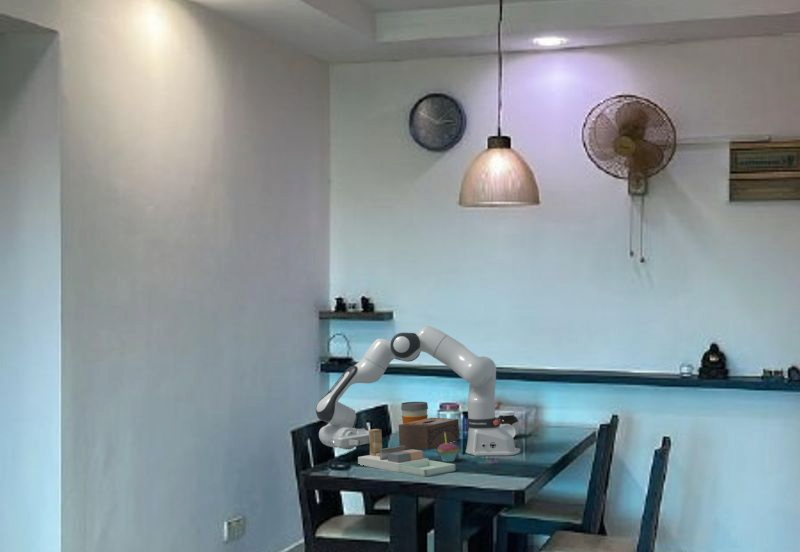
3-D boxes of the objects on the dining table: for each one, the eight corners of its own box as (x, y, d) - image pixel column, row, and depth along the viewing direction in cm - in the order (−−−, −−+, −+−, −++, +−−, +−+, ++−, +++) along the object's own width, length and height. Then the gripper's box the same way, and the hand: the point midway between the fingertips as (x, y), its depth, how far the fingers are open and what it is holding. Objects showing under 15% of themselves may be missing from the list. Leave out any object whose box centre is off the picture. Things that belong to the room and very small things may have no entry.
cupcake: (452, 463, 408) (451, 432, 408) (433, 461, 413) (432, 431, 413) (462, 459, 415) (461, 429, 416) (444, 458, 420) (443, 428, 420)
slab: (358, 464, 412) (358, 457, 412) (387, 459, 421) (387, 452, 422) (399, 472, 393) (398, 463, 393) (429, 466, 402) (428, 458, 402)
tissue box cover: (427, 450, 444) (426, 426, 444) (399, 448, 452) (398, 424, 453) (459, 441, 465) (458, 418, 465) (432, 439, 474) (431, 417, 474)
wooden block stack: (361, 456, 413) (360, 431, 413) (385, 452, 420) (384, 427, 420) (381, 460, 403) (380, 434, 403) (405, 455, 411) (404, 430, 411)
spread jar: (511, 435, 476) (510, 410, 476) (526, 438, 467) (525, 412, 467) (489, 438, 470) (489, 412, 470) (505, 441, 460) (504, 414, 460)
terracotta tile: (400, 458, 404) (400, 451, 404) (412, 456, 408) (412, 449, 408) (411, 460, 399) (410, 452, 399) (422, 458, 403) (422, 450, 403)
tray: (399, 472, 393) (398, 465, 393) (429, 466, 402) (428, 460, 402) (425, 476, 381) (425, 469, 381) (455, 471, 391) (455, 464, 391)
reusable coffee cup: (410, 433, 495) (409, 401, 495) (433, 434, 489) (432, 401, 489) (396, 436, 484) (395, 404, 484) (420, 437, 478) (419, 405, 478)
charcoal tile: (387, 461, 400) (387, 453, 400) (399, 459, 404) (399, 451, 404) (397, 462, 395) (397, 454, 395) (410, 460, 399) (409, 452, 399)
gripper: (326, 433, 423) (347, 436, 413) (366, 427, 436) (387, 430, 426) (327, 449, 423) (347, 452, 412) (366, 442, 436) (387, 446, 426)
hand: (368, 441), depth 419 cm, fingers open, 8 cm apart
